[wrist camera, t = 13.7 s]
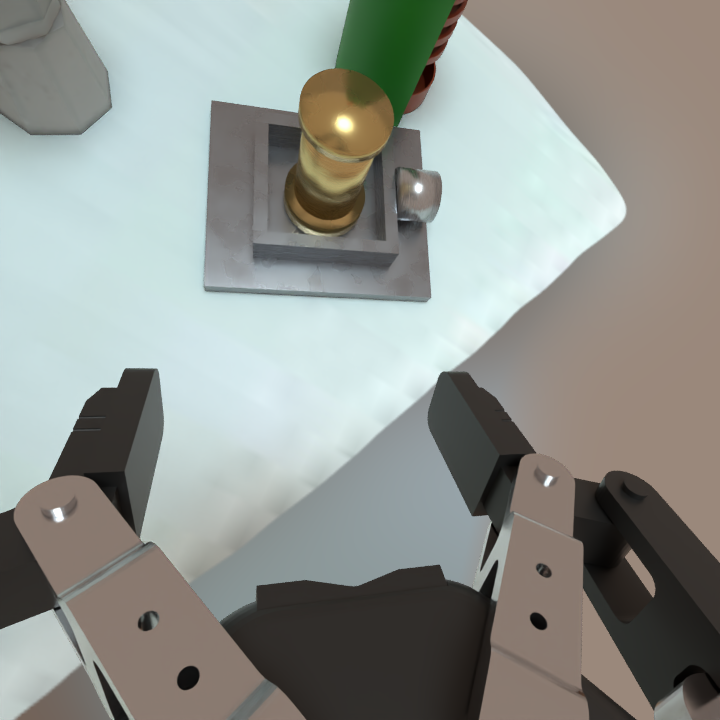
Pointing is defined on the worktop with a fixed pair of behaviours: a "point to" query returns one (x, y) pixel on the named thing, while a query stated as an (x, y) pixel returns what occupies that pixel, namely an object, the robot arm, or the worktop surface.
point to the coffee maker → (49, 69)
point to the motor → (398, 45)
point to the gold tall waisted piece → (336, 150)
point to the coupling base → (289, 243)
